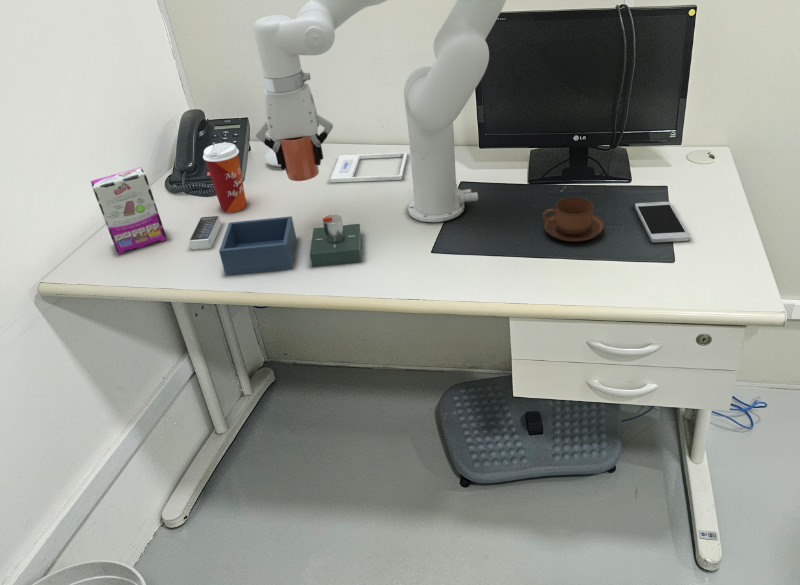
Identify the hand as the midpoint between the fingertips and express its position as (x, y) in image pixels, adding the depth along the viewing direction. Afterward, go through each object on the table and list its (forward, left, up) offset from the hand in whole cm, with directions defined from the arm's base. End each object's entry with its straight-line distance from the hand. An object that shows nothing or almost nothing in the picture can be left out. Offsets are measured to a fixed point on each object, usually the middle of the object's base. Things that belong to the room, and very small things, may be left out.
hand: (301, 164), depth 150 cm
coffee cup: (+20, -14, -15) cm, 29 cm away
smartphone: (-73, +14, -15) cm, 76 cm away
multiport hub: (+24, 0, -15) cm, 28 cm away
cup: (0, 0, -2) cm, 2 cm away
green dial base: (-6, +12, -15) cm, 20 cm away
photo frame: (-13, -28, -15) cm, 34 cm away
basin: (+10, +12, -15) cm, 21 cm away
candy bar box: (+39, 0, -15) cm, 42 cm away
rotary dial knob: (-6, +12, -12) cm, 18 cm away
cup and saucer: (-55, +14, -15) cm, 59 cm away
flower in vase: (+9, -39, -15) cm, 43 cm away
